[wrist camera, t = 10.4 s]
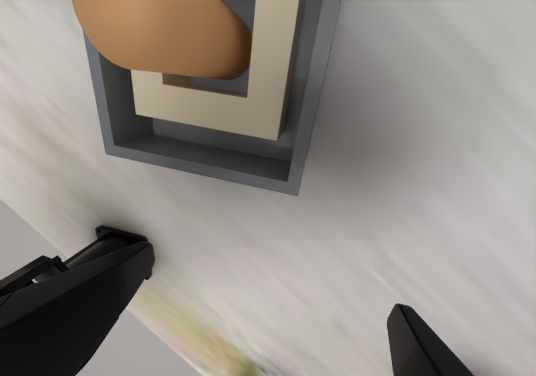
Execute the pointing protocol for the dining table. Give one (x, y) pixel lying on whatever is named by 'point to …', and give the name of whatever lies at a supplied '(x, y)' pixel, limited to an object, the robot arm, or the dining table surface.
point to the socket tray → (213, 141)
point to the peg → (168, 36)
